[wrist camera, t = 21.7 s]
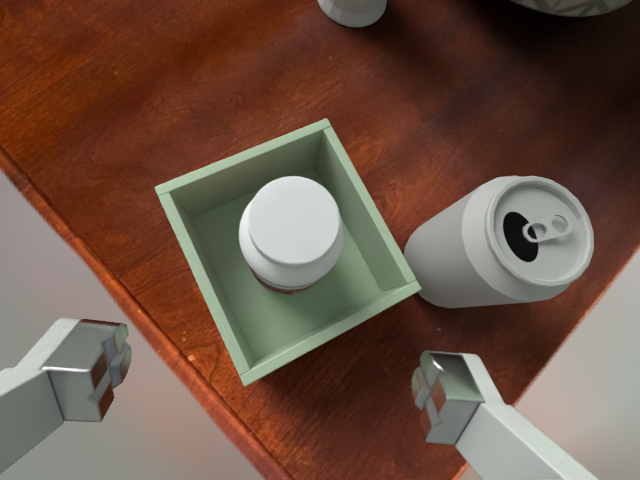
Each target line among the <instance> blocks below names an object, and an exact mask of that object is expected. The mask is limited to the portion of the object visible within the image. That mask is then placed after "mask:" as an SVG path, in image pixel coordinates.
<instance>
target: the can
mask: <svg viewBox="0 0 640 480" xmlns="http://www.w3.org/2000/svg"><path fill="white" fill-rule="evenodd" d="M593 251H594V233H593V229H592V226H591V223H590V220H589V217H588V214H587V213H586V211H585V210H584V208H583V206H582V205H581V203H580V202H579V200H578V199H577V198H576V197H575V196H574V195H573V194H572V193H570V192H569V191H568V190H567V189H566V188H565V187H563V186H561V185H559V184H558V183H556V182H554V181H552V180H550V179H546V178H541V177H537V176H527V177H519V176H507V177H498V178H495V179H493V180H491V181H489V182H487V183H485V184H483V185H481V186H480V187H478V188H477V189H475V190H474V191H472V192H471V193H469V194H468V195H466V196H465V197H463V198H462V199H460V200H459V201H457V202H456V203H454V204H453V205H451V206H449V207H448V208H446V209H445V210H443V211H442V212H440V213H439V214H437V215H436V216H434V217H433V218H431V219H430V220H428V221H427V222H425V223H424V224H422V225H421V226H419V227H418V228H417V229H416V230H415V231H414V232H413V233H412V235H411V236H410V238H409V240H408V242H407V244H406V246H405V251H404V258H405V260H406V261H407V263H408V265H409V267H410V269H411V271H412V272H413V274H414V276H415V278H416V280H417V281H418V283H419V285H420V287H421V290H420V291H418V292H417V293H418V294H419V295H420V296H421V297H422V298H423V299H425V300H426V301H428V302H430V303H432V304H434V305H436V306H440V307H445V308H461V307H474V306H487V305H499V304H512V303H525V302H535V301H541V300H547V299H551V298H553V297H554V296H556V295H558V294H559V293H561V292H563V291H564V290H566V289H567V287H568V286H569V285H570V284H571V282H573V281H575V280H576V279H578V278H580V276H581V275H582V274H583V272H584V271H585V270H586V268H587V267H588V266H589V264H590V261H591V257H592V254H593Z"/></svg>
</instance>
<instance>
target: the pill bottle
mask: <svg viewBox="0 0 640 480" xmlns="http://www.w3.org/2000/svg"><path fill="white" fill-rule="evenodd" d="M239 242H240V247H241V251H242V254H243V256H244V258H245V260H246V262H247V264H248V265H249V267H250V269H251V271H252V273H253V274H254V276H255V278H256V279H257V280H258V281H259V282H260V283H261V284H262V285H263V286H264V287H266V288H267V289H269V290H271V291H273V292H276V293H280V294H297V293H301V292H303V291H306V290H308V289H309V288H311V287H312V286H314V285H315V284H316V283H317V282H318V281H319V280H320V279H321V278H322V277H323V276H325V275H326V274H327V273H328V272H329V271H330V270H331V268H332V267H333V266H334V265H335V263H336V262H337V260H338V258H339V256H340V253H341V251H342V247H343V242H344V229H343V223H342V220H341V217H340V213H339V209H338V206H337V204H336V202H335V200H334V198H333V197H332V195H331V194H330V193H329V192H328V191H327V190H326V189H325V188H324V187H323V186H322V185H320V184H318V183H317V182H315V181H313V180H310V179H308V178H304V177H299V176H287V177H282V178H278V179H276V180H273V181H271V182H269V183H268V184H266V185H265V186H264V187H263V188H261V189H260V191H259V192H258V193H257V194H256V195H255V197H254V198H253V199H252V201H251V202H250V203H249V204H248V206H247V207H246V209H245V211H244V213H243V215H242V218H241V221H240V227H239Z"/></svg>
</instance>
